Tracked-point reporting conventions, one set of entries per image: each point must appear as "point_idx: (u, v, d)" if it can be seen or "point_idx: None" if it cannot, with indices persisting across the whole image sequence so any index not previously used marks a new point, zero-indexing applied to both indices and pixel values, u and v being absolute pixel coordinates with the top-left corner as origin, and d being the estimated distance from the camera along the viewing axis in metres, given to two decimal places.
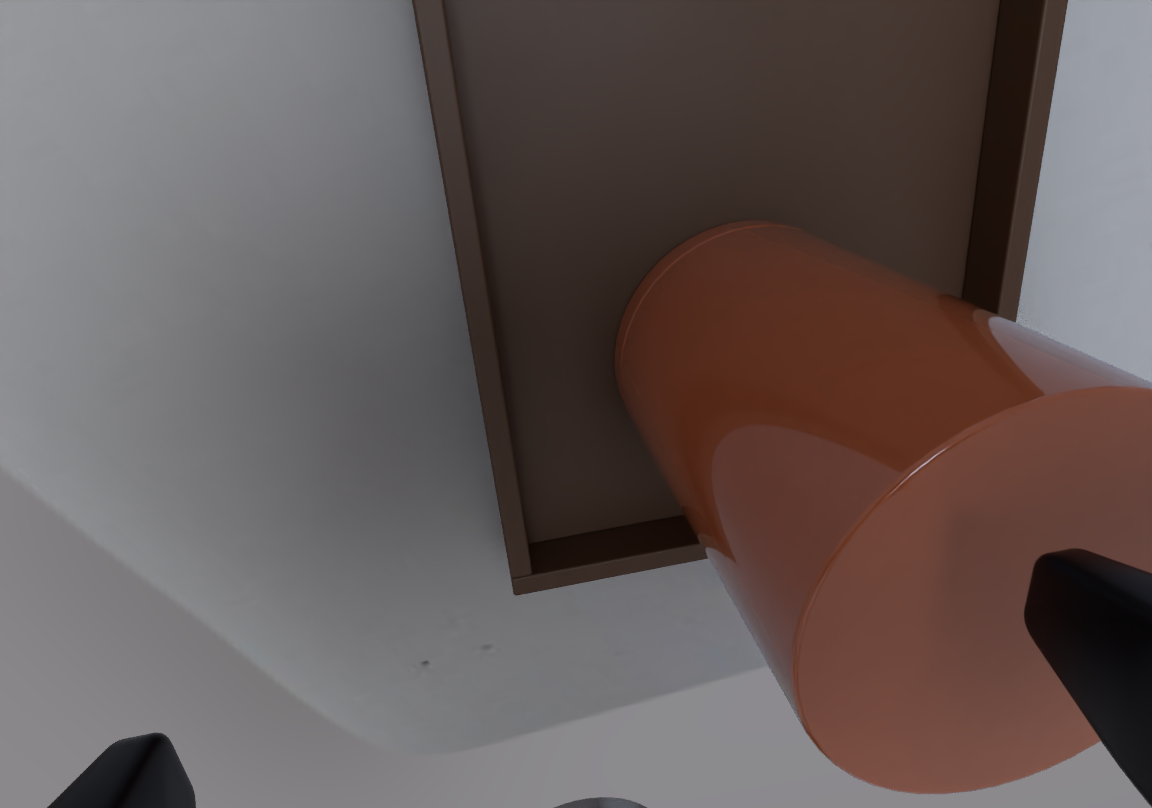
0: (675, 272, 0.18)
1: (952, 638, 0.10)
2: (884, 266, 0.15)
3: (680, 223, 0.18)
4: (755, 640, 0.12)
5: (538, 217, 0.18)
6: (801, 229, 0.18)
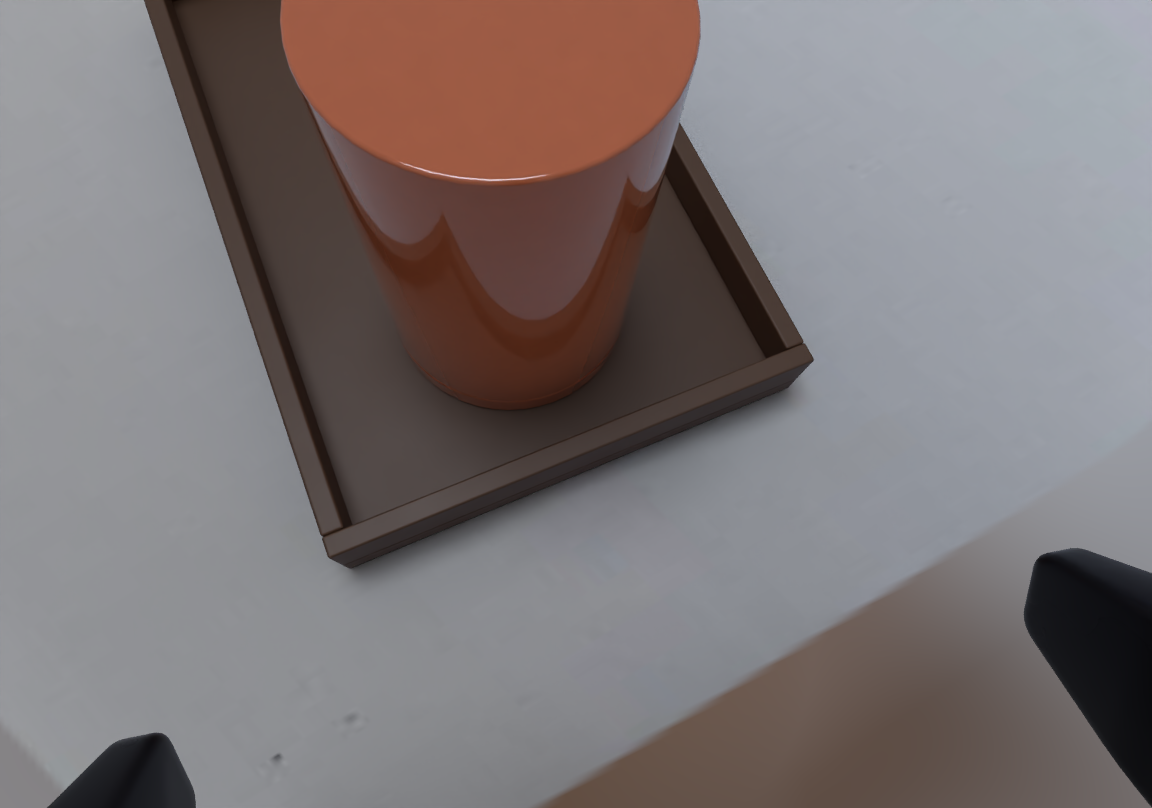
0: None
1: (428, 25, 0.12)
2: None
3: None
4: (346, 181, 0.13)
5: (308, 242, 0.23)
6: None
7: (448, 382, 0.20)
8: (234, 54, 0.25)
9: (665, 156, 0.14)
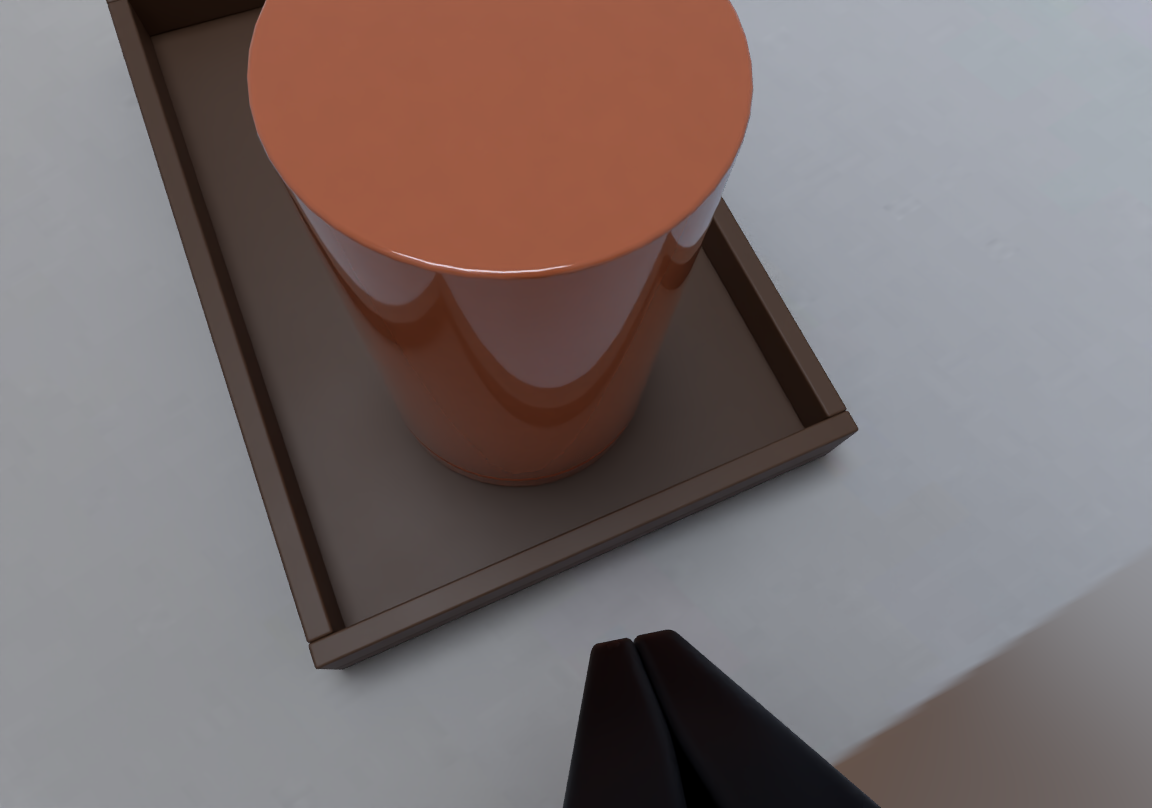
0: None
1: (425, 80, 0.10)
2: None
3: None
4: (329, 263, 0.11)
5: (295, 299, 0.21)
6: None
7: (451, 460, 0.18)
8: (216, 92, 0.23)
9: (708, 227, 0.11)
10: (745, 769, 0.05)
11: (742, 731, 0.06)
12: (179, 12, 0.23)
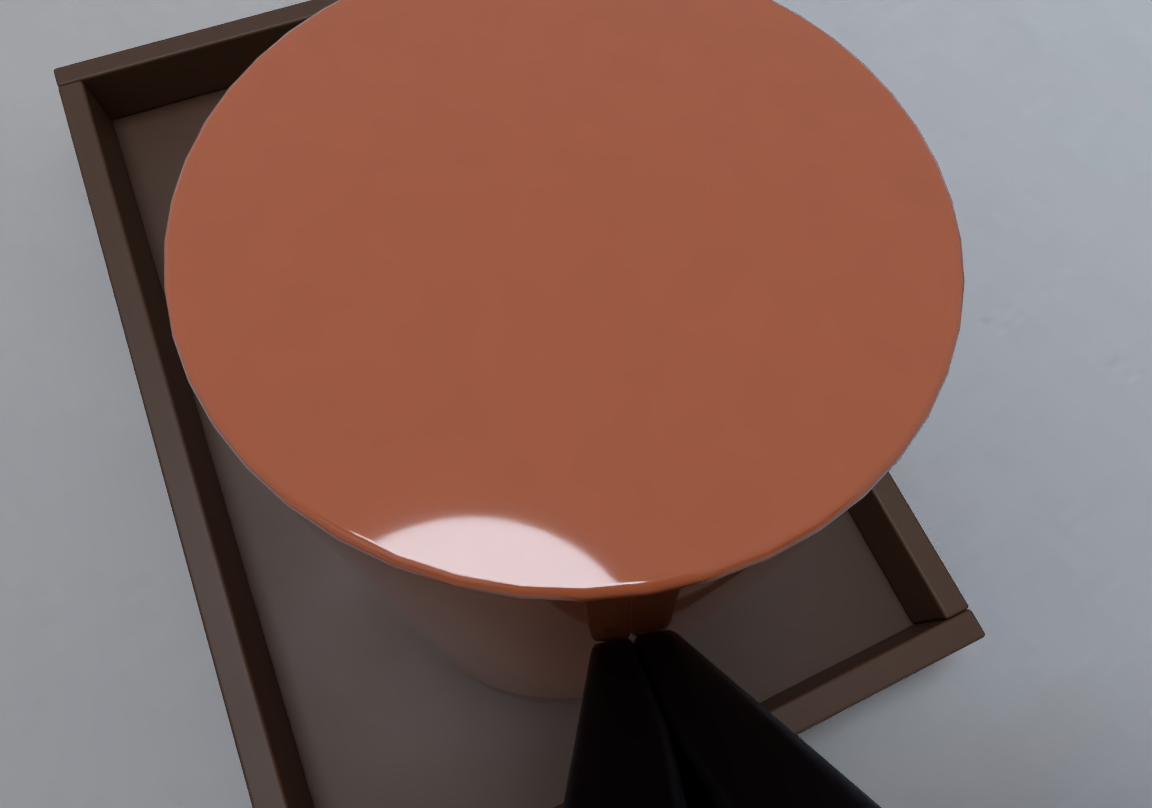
0: None
1: (448, 243, 0.06)
2: None
3: None
4: None
5: None
6: None
7: (472, 676, 0.14)
8: None
9: None
10: (745, 769, 0.05)
11: (742, 731, 0.06)
12: (146, 92, 0.20)
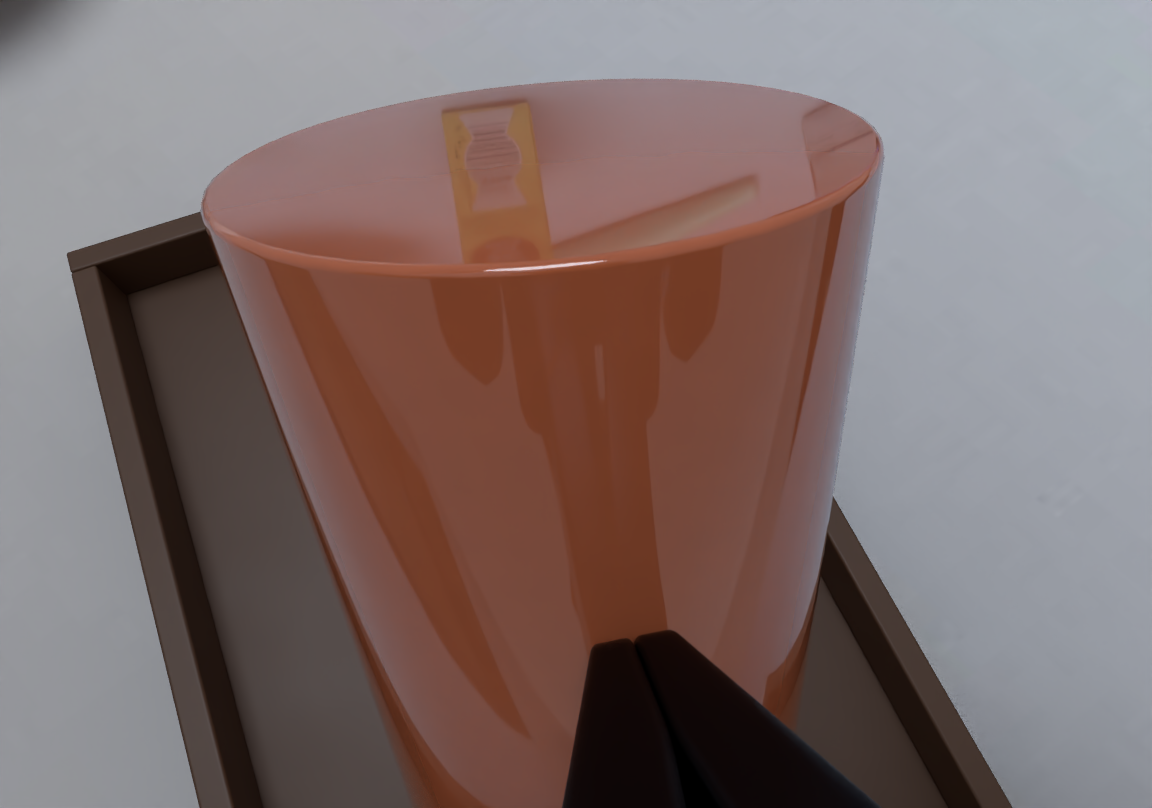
0: None
1: (437, 159, 0.08)
2: None
3: None
4: (281, 406, 0.07)
5: (304, 674, 0.16)
6: None
7: None
8: (207, 371, 0.19)
9: (856, 326, 0.08)
10: (745, 769, 0.05)
11: (742, 731, 0.06)
12: (162, 268, 0.19)
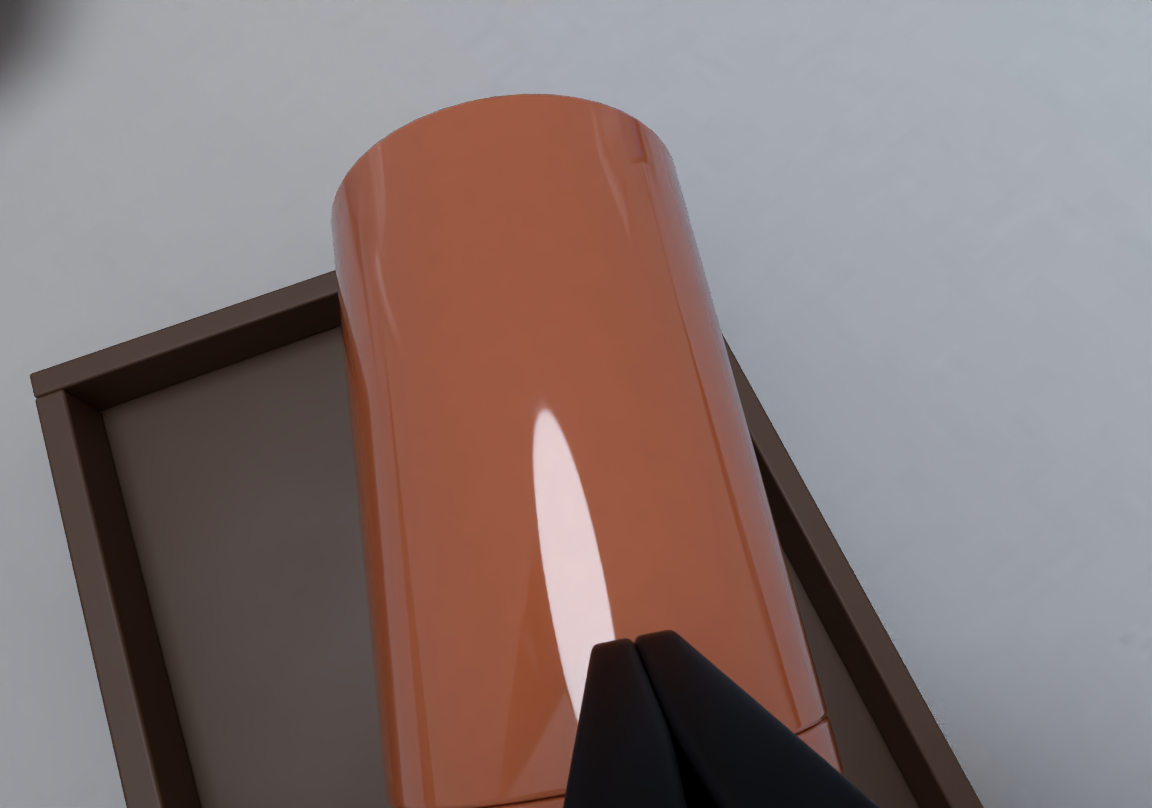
0: None
1: None
2: None
3: None
4: (349, 264, 0.13)
5: None
6: None
7: (457, 769, 0.09)
8: (193, 503, 0.16)
9: (676, 206, 0.13)
10: (745, 769, 0.05)
11: (742, 731, 0.06)
12: (141, 383, 0.17)
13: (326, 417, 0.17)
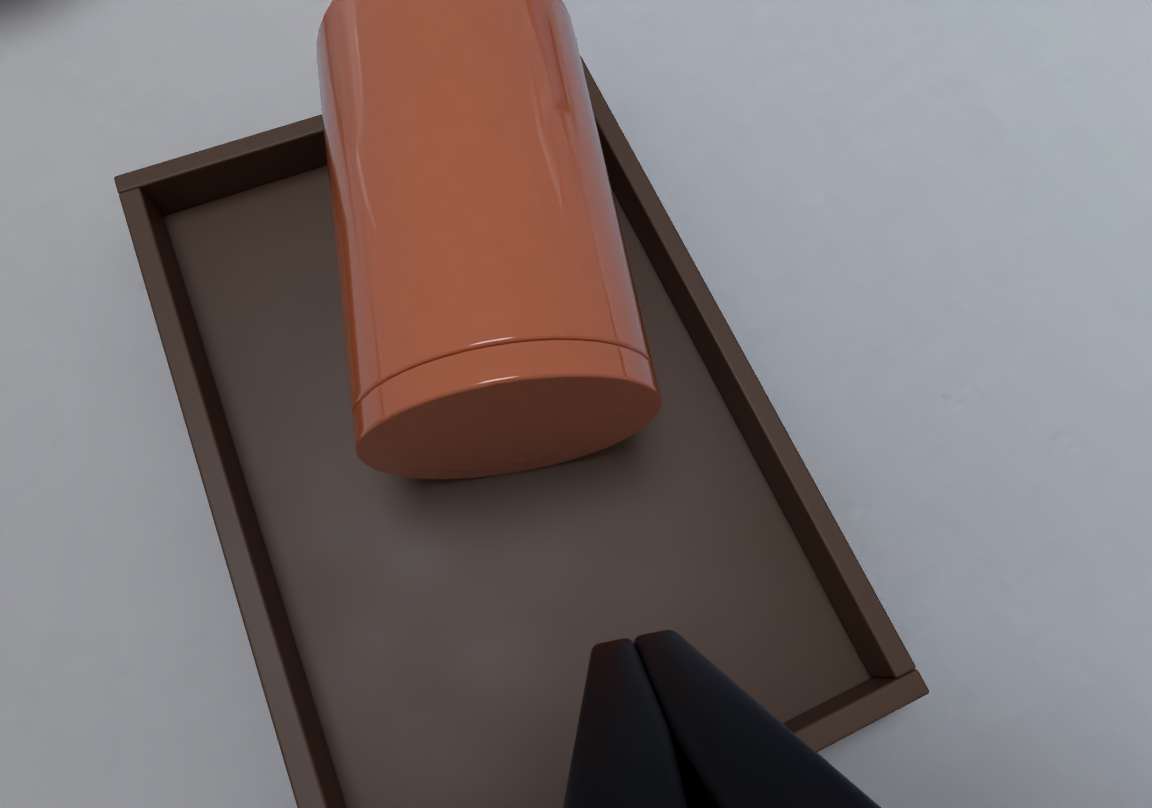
0: None
1: None
2: None
3: (456, 494, 0.20)
4: (322, 88, 0.18)
5: (322, 525, 0.20)
6: None
7: (374, 363, 0.15)
8: (235, 281, 0.22)
9: (546, 21, 0.18)
10: (745, 769, 0.05)
11: (742, 731, 0.06)
12: (194, 192, 0.22)
13: None
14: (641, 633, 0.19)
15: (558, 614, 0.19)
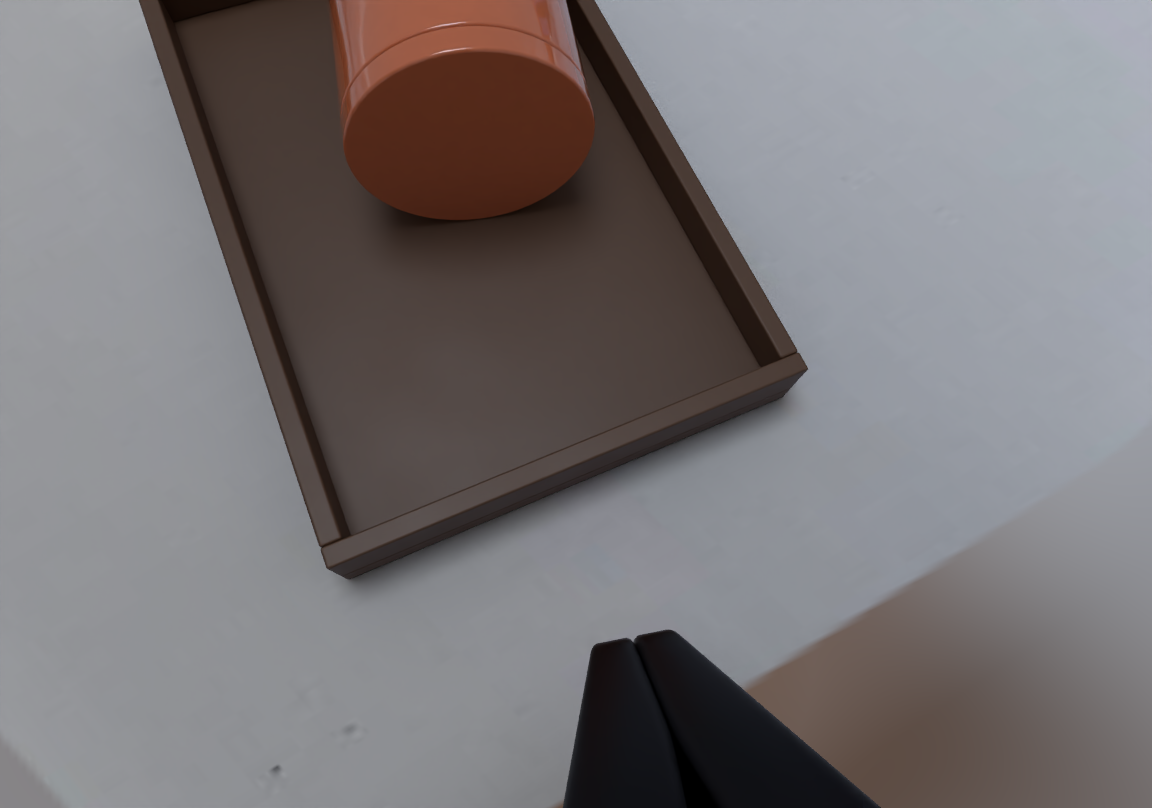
0: None
1: None
2: None
3: (420, 236, 0.24)
4: None
5: (306, 256, 0.23)
6: None
7: (364, 49, 0.19)
8: (234, 72, 0.26)
9: None
10: (745, 769, 0.05)
11: (742, 731, 0.06)
12: (200, 0, 0.26)
13: (320, 30, 0.26)
14: (574, 340, 0.23)
15: (504, 326, 0.23)
